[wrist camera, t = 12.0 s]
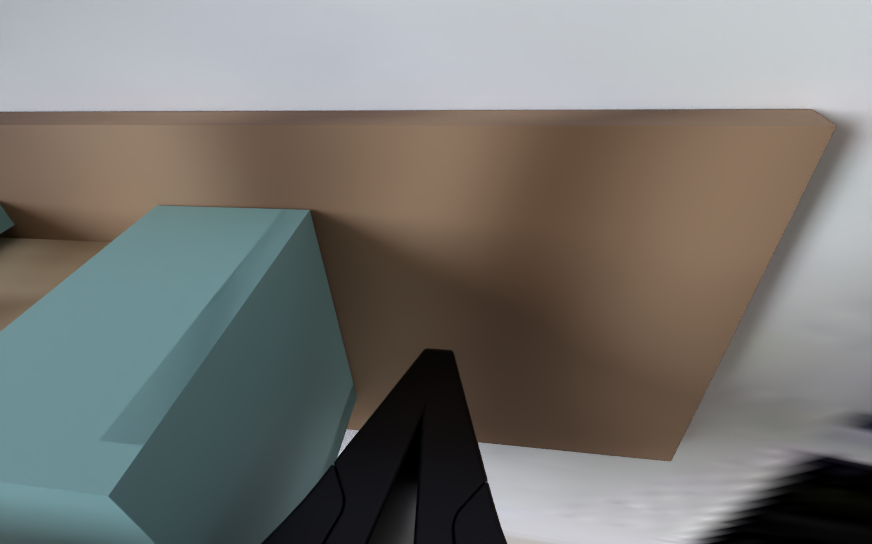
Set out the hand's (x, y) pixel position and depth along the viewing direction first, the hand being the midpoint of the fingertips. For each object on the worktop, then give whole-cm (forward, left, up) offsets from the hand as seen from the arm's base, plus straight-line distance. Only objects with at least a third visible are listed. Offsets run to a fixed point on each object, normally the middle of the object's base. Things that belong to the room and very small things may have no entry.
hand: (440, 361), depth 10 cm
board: (+4, 0, -2) cm, 5 cm away
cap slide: (+5, 0, -1) cm, 5 cm away
